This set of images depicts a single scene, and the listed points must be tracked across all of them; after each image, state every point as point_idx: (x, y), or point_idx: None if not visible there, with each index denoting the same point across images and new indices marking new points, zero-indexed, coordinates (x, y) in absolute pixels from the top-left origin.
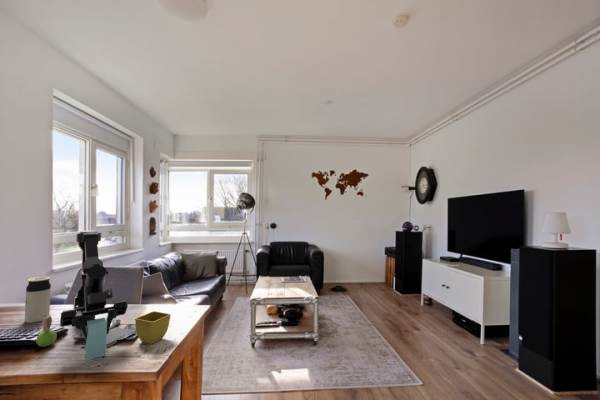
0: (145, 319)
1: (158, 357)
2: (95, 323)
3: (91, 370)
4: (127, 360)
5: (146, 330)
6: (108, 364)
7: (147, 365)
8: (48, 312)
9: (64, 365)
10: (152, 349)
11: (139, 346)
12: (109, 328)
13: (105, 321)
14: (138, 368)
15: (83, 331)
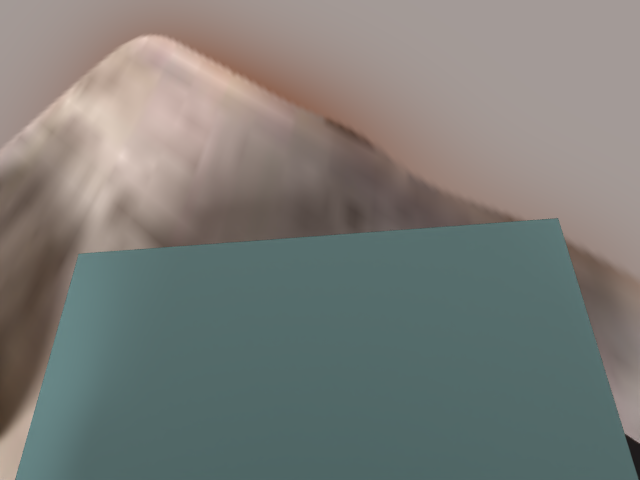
0: None
1: (61, 133)
2: (361, 312)
3: (400, 177)
4: (194, 189)
5: None
6: (299, 200)
7: (141, 84)
8: None
9: (621, 391)
10: (18, 255)
11: (40, 375)
12: None
13: (90, 321)
14: (185, 77)
15: (632, 450)
